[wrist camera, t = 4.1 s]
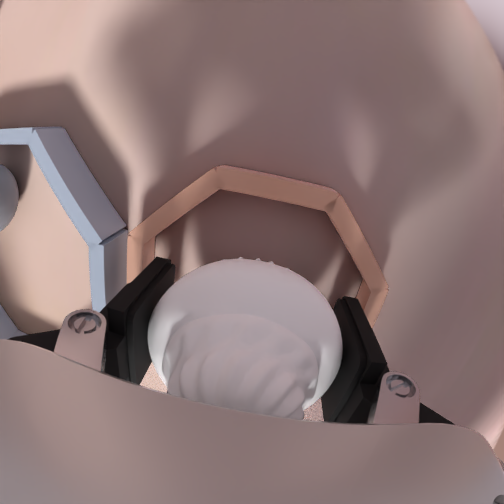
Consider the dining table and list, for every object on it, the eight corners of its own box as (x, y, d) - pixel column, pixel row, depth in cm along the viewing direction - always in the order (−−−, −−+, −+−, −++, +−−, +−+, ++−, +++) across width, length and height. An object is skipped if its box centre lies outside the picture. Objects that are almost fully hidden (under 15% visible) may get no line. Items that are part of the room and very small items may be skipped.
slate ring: (138, 129, 10) (112, 128, 8) (132, 387, 15) (120, 410, 13) (-32, 132, 10) (-54, 135, 8) (-13, 317, 15) (-28, 330, 13)
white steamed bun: (174, 338, 13) (116, 460, 7) (189, 211, 11) (84, 301, 4) (302, 366, 13) (310, 499, 7) (346, 248, 11) (421, 371, 4)
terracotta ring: (402, 207, 10) (414, 215, 9) (326, 393, 14) (329, 410, 13) (148, 153, 10) (134, 155, 9) (139, 355, 14) (131, 370, 13)
